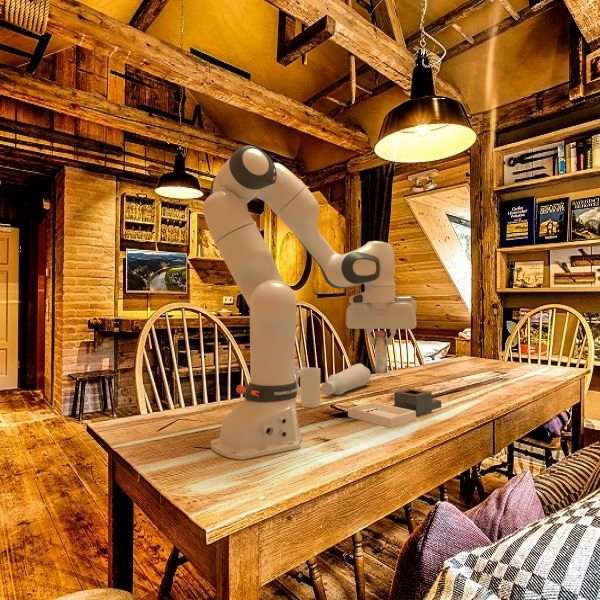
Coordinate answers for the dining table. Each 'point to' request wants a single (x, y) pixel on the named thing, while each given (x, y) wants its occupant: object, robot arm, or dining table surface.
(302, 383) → the mug
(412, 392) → the block
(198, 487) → the dining table surface
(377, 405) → the tray
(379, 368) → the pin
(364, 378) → the bottle
